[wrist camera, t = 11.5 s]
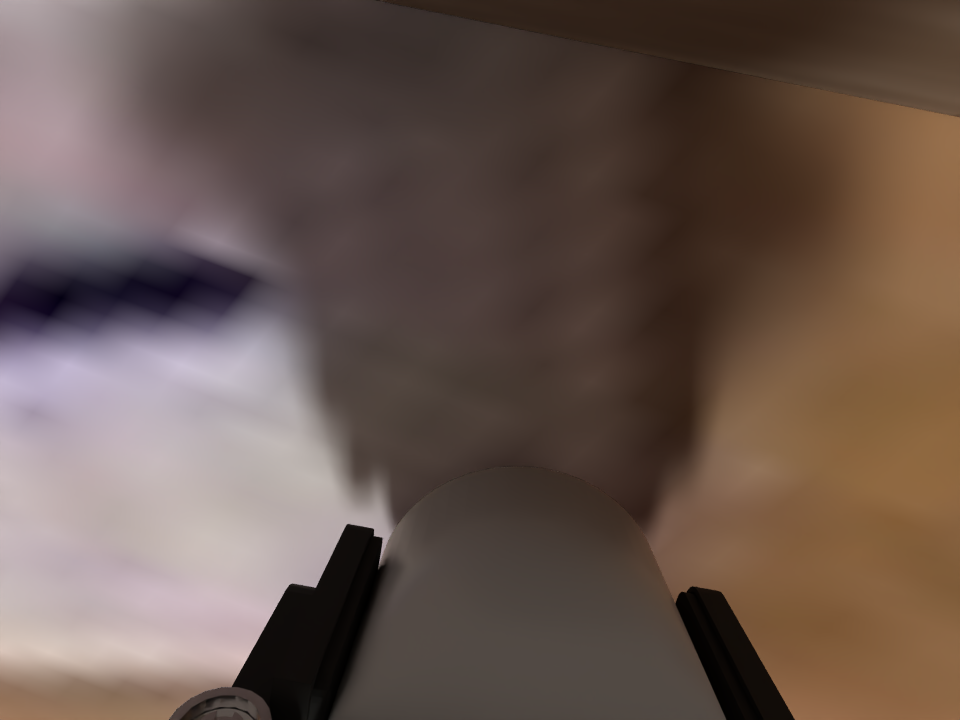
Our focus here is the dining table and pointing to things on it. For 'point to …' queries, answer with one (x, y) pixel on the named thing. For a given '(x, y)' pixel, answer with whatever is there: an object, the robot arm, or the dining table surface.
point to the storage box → (765, 39)
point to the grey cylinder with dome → (521, 612)
